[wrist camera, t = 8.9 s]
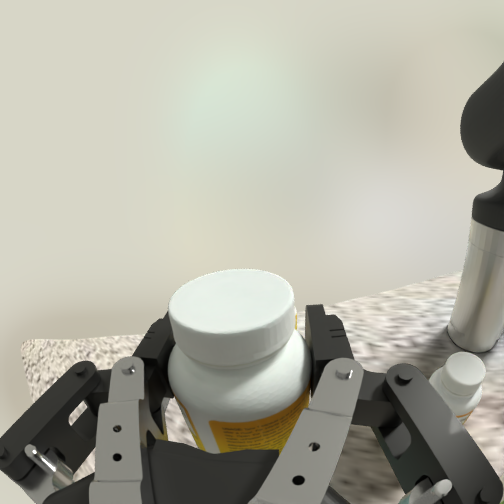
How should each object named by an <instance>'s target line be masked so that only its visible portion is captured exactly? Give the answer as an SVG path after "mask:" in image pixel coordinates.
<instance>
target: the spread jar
mask: <svg viewBox="0 0 504 504" xmlns="http://www.w3.org/2000/svg"><path fill="white" fill-rule="evenodd" d="M500 480H501V482H502V484H503V489H504V474H503V475H502V476H501V477H500ZM499 504H504V491H503V497H502V500H501V502H500V503H499Z"/></svg>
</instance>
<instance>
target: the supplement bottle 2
mask: <svg viewBox="0 0 504 504" xmlns="http://www.w3.org/2000/svg"><path fill="white" fill-rule="evenodd" d="M485 374H486V369H485V365H484V363H483V362H482V360H481V359H480V358H479V357H477V356H476V355H474V354H472V353H469V352H457V353H454V354H452V355H451V356H450V357H449V358H448V359H447V361H446V363H445V365H444V366H443V367H441V368H439V369H438V370H436V371H435V372H434V373H433V374H432V376H431V377H430V379H429V382H430V384H431V385H432V386H433V387H434V389H435V390H436V391H437V392H438V394H439V395H440V396H441V397H442V399H443V400H444V401H445V403H446V404H447V405H448V406H449V408H450V409H451V410H452V412H453V413H454V414H455V416H456V417H457V418H458V420H459V421H460V422H461V424H462V425H463V424H464V423H465V421H466V420H467V419H468V417H469V416H470V414H471V413H472V412H473V410H474V409H475V407H476V406H477V404H478V403H479V401H480V399H481V396H482V384H481V383H482V381H483V379H484V377H485Z"/></svg>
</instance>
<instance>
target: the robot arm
mask: <svg viewBox="0 0 504 504" xmlns="http://www.w3.org/2000/svg"><path fill="white" fill-rule="evenodd" d="M460 127H461V128H460V129H461V130H460V131H461V132H460V133H461V140H462V143H463V146H464V148H465V150H466V152H467V154H468V155H469V156H470V157H471V158H472V159H473V160H474V161H475V162H477V163H479V164H481V165H482V166H485V167H489V168H493V169H499V170H503V176H502V180H501V182H500V183H499V184H498V185H497V186H496V187H495V188H493V189H491V190H490V191H487V192H484V193H481V194H479V195H477V196H476V197H475V199H474V201H473V208H472V218H471V226H470V234H469V242H468V248H467V253H466V259H465V264H464V269H463V273H462V278H461V282H460V286H459V290H458V294H457V298H456V301H455V305H454V308H453V312H452V315H451V319H450V322H449V325H448V334H449V336H450V338H451V339H452V340H453V341H454V343H456V344H457V345H458V346H460V347H461V348H463V349H465V350H468V351H471V352H485V351H488V350H490V349H491V348H492V347H493V346H494V344H495V342H496V340H498V339H499V338H500V336H501V334H502V331H503V329H504V62H503V63H502V65H501V66H500V67H499V68H498V69H497V70H496V71H495V72H494V74H493V75H492V76H491V77H490V78H488V79H487V80H486V81H485V82H484V83H483V84H482V85H481V86H480V87H479V88H478V89H477V90H476V91H475V92H474V93H473V94H472V95H471V97H470V98H469V99H468V101H467V103H466V105H465V107H464V110H463V114H462V117H461V125H460ZM305 341H306V343H307V345H308V347H309V350H310V353H311V358H312V374H311V385H310V389H311V398H312V400H311V402H310V404H309V406H308V408H304V409H303V411H302V413H301V414H300V417H299V419H298V421H297V423H296V425H295V427H294V429H293V431H292V433H291V435H290V437H289V439H288V441H287V442H286V444H285V446H284V448H283V450H282V452H281V454H280V456H279V449H269V450H263V449H245V450H239V451H232V452H225V453H216V454H213V453H209V452H206V451H203V450H200V449H197V448H195V447H192V446H189V445H187V444H184V443H178V442H172V441H168V436H167V428H166V421H165V412H164V406H163V404H162V401H163V398H164V397H165V398H174V393H173V391H172V388H171V386H170V382H169V378H168V361H169V357H170V354H171V352H172V349H173V347H174V346H175V344H176V342H175V339H174V335H173V329H172V326H171V322H170V318H169V313H168V312H167V313H166V315H165V317H164V318H163V319H159V320H157V321H156V322H155V323H153V324H152V325H151V327H150V328H149V330H148V331H147V333H146V335H145V336H144V339H142V341H141V342H140V344H139V346H138V347H137V349H136V350H135V352H134V354H133V355H132V356H130V357H125V358H122V359H120V360H119V361H117V362H116V363H115V364H114V366H113V367H112V369H108V370H97V368H96V366H95V365H94V363H92V362H90V361H81V362H78V363H76V364H74V365H73V366H72V367H71V368H70V369H69V370H68V371H67V372H66V373H65V374H63V375H62V376H61V377H60V378H59V379H58V380H57V381H56V382H55V383H54V384H53V385H52V386H51V387H50V388H49V389H48V390H47V391H46V392H45V393H44V394H43V395H42V396H41V397H40V398H39V399H38V400H37V401H36V402H35V403H34V404H33V405H32V406H31V407H30V408H29V409H28V410H27V411H26V412H25V413H24V414H23V415H22V416H21V417H20V418H19V419H18V420H17V421H16V422H15V423H14V424H13V425H12V426H11V427H10V428H9V429H8V430H7V431H6V433H5V434H4V435H3V436H2V437H1V438H0V470H1V471H2V472H4V473H5V474H6V475H7V476H8V477H9V478H10V479H11V480H13V481H14V482H15V483H16V484H18V485H19V486H20V487H21V488H22V489H23V490H24V491H25V492H26V494H27V495H28V496H29V497H30V498H31V499H32V500H33V501H34V502H35V503H36V504H350V503H349V502H348V501H347V500H345V499H344V498H343V497H342V496H341V495H339V494H338V493H337V492H336V491H335V490H334V489H333V488H331V487H330V486H329V483H330V481H331V478H332V476H333V473H334V471H335V468H336V465H337V463H338V460H339V457H340V454H341V452H342V449H343V446H344V443H345V440H346V437H347V434H348V431H349V427H350V424H355V425H363V426H371V428H372V430H373V432H374V434H375V436H376V438H377V440H378V441H379V443H380V445H381V447H382V449H383V451H384V453H385V455H386V457H387V459H388V461H389V463H390V465H391V467H392V469H393V471H394V473H395V475H396V477H397V479H398V481H399V483H400V485H401V487H402V489H403V491H404V493H405V495H404V496H403V497H402V499H401V500H400V501H399V503H398V504H499V503H500V502H501V500H502V497H503V491H504V489H503V484H502V482H501V480H500V478H499V477H498V475H497V474H496V472H495V471H494V469H493V468H492V466H491V465H490V463H489V462H488V460H487V459H486V457H485V456H484V454H483V453H482V451H481V450H480V449H479V447H478V446H477V444H476V443H475V441H474V440H473V439H472V437H471V436H470V434H469V433H468V432H467V430H466V429H465V428H464V426H463V425H462V424H461V422H460V421H459V420H458V418H457V417H456V416H455V414H454V413H453V412H452V410H451V409H450V408H449V406H448V405H447V404H446V403H445V401H444V400H443V399H442V397H441V396H440V395H439V394H438V392H437V391H436V390H435V389H434V387H433V386H432V385H431V384H430V382H429V381H428V380H427V379H426V377H425V376H424V375H423V374H422V373H421V371H420V370H419V369H418V368H416V367H415V366H413V365H410V364H397V365H394V366H392V367H391V368H390V369H389V370H388V371H387V374H386V373H375V372H369V371H366V370H364V369H363V367H362V366H361V364H360V363H358V362H357V361H355V360H354V357H353V354H352V351H351V347H350V344H349V341H348V338H347V337H346V332H345V330H344V326H343V323H342V321H341V320H340V319H339V318H338V317H337V316H336V315H325V311H324V308H323V305H322V304H320V305H306V314H305ZM82 401H84V402H85V404H86V405H87V409H86V410H85V411H84V412H83V413H82V414H81V415H80V417H79V418H78V419H77V420H76V421H75V422H74V423H73V424H72V426H71V425H70V424H69V416H70V414H71V413H72V412H73V411H74V410H75V408H76V407H77V406H78V405H79V404H80V403H81V402H82ZM95 447H96V451H95V472H94V473H92V474H90V475H88V476H86V477H84V478H82V479H80V480H78V481H76V482H75V481H74V480H73V475H74V473H75V472H76V471H77V470H78V468H79V467H80V466H81V465H82V463H83V462H84V461H85V459H86V458H87V457H88V456H89V454H90V453H91V452H92V451H93V449H94V448H95Z"/></svg>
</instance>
